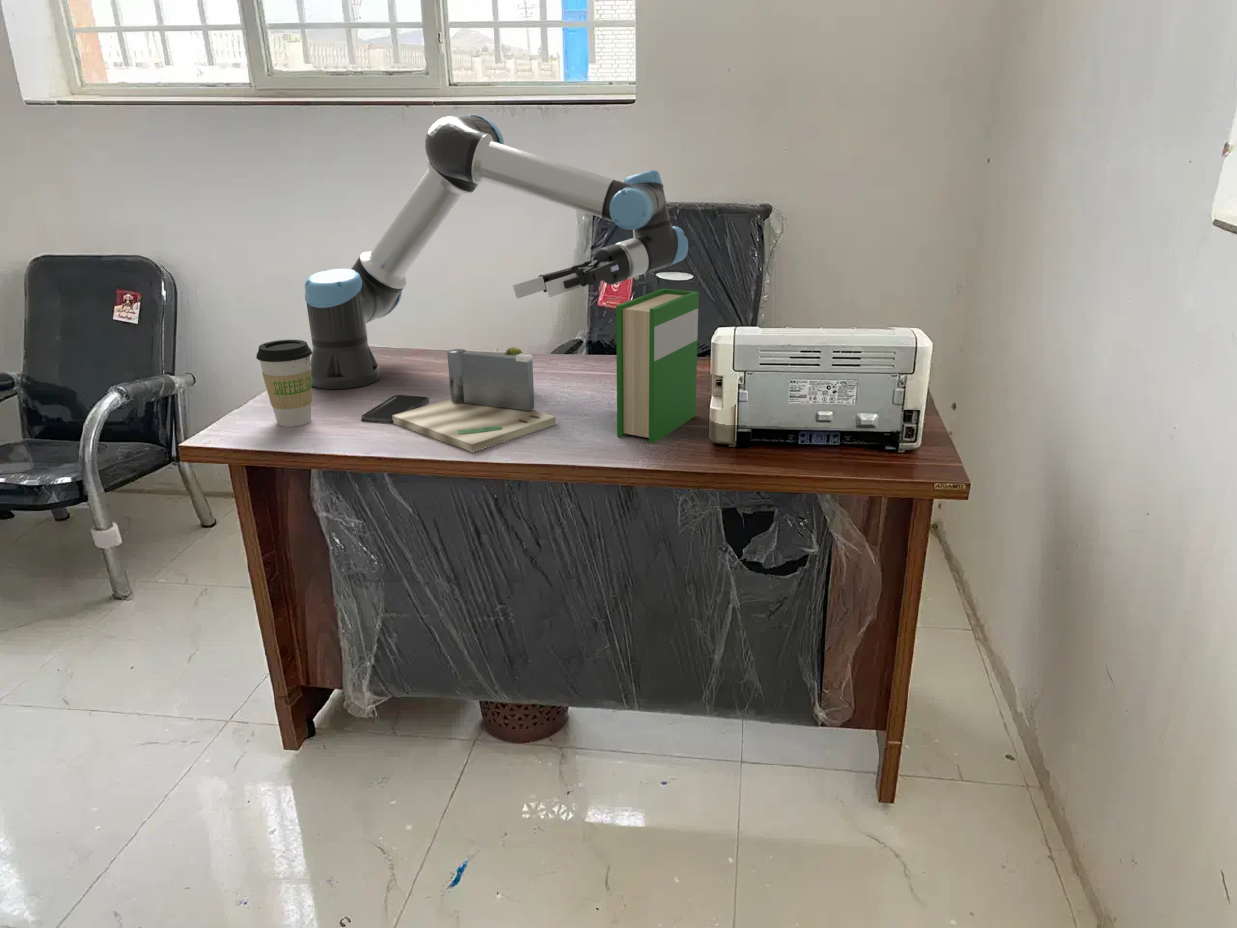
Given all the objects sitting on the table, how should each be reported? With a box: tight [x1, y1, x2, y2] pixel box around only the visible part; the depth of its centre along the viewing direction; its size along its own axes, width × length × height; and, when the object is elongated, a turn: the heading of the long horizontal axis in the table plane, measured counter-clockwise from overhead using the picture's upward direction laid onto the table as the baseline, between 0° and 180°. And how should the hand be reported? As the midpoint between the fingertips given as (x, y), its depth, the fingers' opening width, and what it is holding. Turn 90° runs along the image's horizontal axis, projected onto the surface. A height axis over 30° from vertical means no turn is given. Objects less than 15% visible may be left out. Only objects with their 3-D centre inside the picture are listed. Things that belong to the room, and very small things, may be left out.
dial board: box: [392, 398, 557, 453], centre depth 167 cm, size 24×20×2 cm
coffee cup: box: [255, 339, 313, 428], centre depth 166 cm, size 10×10×15 cm
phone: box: [361, 394, 430, 425], centre depth 175 cm, size 8×1×15 cm
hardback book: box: [615, 288, 700, 444], centre depth 161 cm, size 18×7×24 cm, turn 150°
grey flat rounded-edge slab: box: [447, 348, 535, 411], centre depth 170 cm, size 18×4×11 cm, turn 68°
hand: (530, 290), depth 169 cm, fingers open, 13 cm apart
